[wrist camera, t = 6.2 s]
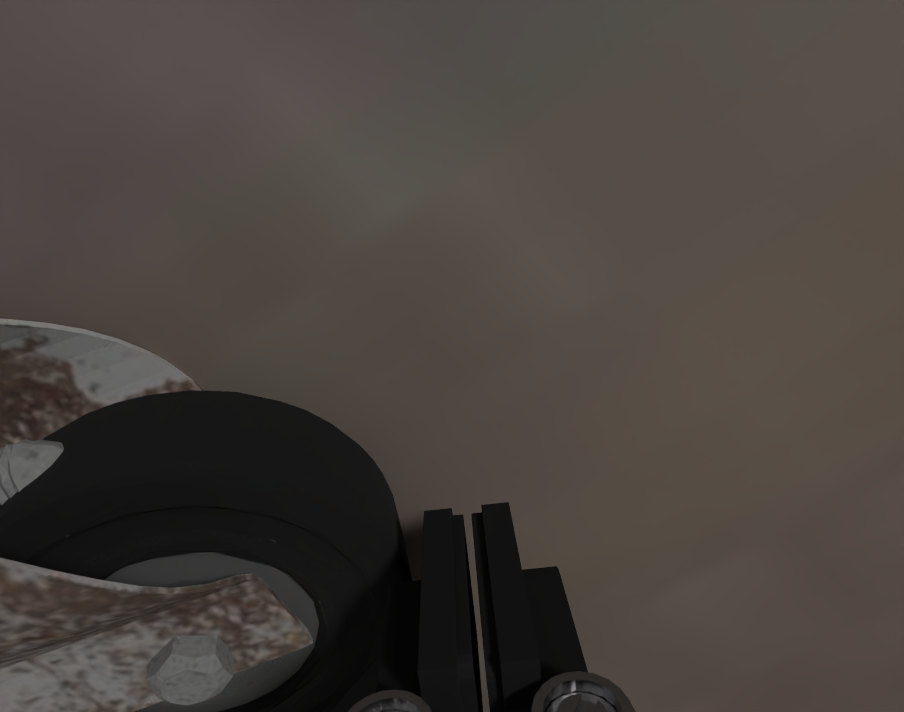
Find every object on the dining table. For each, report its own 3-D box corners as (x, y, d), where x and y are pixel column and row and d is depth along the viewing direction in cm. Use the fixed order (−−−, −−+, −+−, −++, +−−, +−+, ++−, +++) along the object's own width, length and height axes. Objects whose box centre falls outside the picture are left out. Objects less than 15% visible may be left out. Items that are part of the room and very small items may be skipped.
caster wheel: (422, 540, 18) (77, 668, 17) (262, 146, 12) (-270, 315, 11) (487, 790, 12) (-30, 998, 11) (238, 263, 6) (-849, 621, 6)
